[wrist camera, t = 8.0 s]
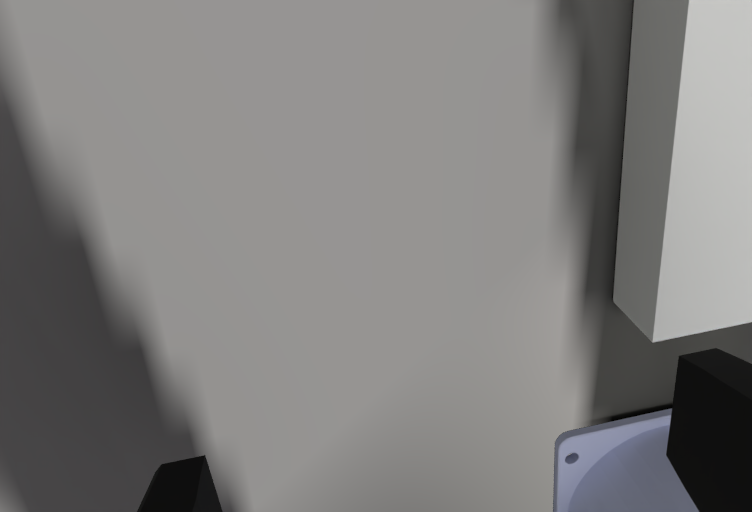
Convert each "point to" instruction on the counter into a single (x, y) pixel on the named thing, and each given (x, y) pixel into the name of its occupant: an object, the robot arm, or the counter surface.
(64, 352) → the counter surface
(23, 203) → the counter surface
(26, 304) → the counter surface
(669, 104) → the deck
